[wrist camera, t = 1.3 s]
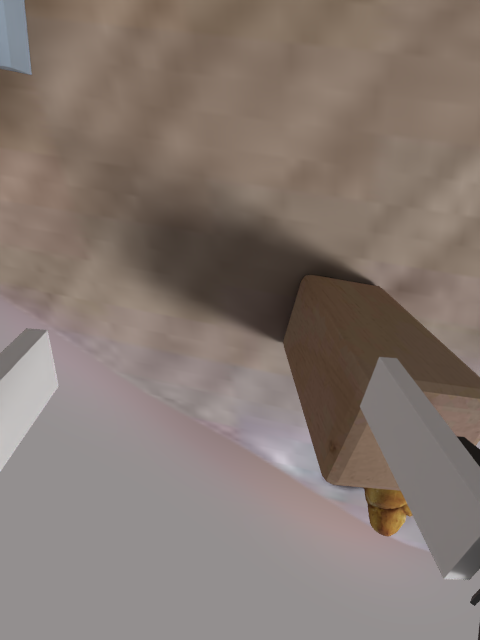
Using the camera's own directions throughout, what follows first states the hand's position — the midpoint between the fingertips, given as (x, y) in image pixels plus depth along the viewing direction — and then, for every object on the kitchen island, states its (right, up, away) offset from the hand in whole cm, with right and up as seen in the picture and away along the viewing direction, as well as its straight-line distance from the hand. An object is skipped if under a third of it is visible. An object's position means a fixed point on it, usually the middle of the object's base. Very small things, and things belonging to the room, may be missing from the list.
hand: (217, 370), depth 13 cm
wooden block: (+12, +3, +27) cm, 30 cm away
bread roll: (+25, -22, +41) cm, 53 cm away
